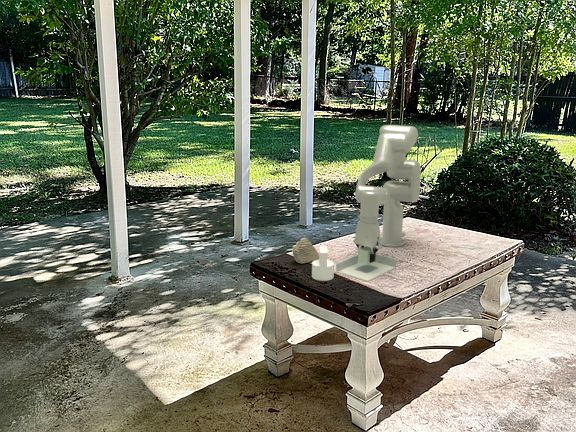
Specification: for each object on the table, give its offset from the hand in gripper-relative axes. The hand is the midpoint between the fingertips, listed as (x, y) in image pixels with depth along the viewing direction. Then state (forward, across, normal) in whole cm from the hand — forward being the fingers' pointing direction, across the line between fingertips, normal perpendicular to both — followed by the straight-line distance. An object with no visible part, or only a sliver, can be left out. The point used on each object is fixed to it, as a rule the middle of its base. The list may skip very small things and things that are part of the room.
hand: (366, 260), depth 232 cm
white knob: (+5, -9, -19) cm, 21 cm away
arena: (+5, 0, 0) cm, 5 cm away
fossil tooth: (+5, -26, -9) cm, 28 cm away
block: (+1, 0, 0) cm, 1 cm away
